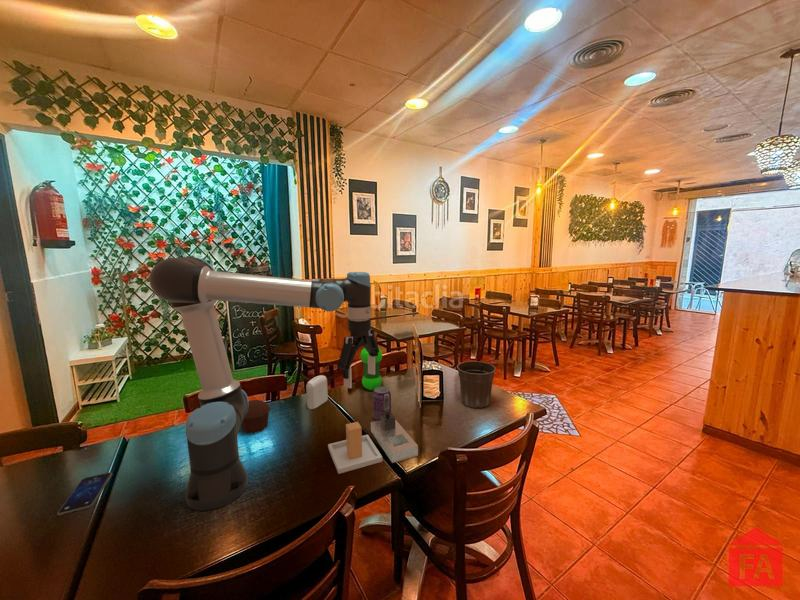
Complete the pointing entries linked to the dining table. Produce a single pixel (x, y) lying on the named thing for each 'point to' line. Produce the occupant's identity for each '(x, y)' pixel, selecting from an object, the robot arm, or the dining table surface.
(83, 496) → the smartphone
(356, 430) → the tan rectangular block
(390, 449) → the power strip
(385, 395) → the beverage can
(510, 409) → the dining table surface
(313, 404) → the photo printer
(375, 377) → the plastic bottle
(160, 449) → the dining table surface
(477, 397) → the plant pot
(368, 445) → the tray
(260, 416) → the muffin
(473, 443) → the dining table surface
